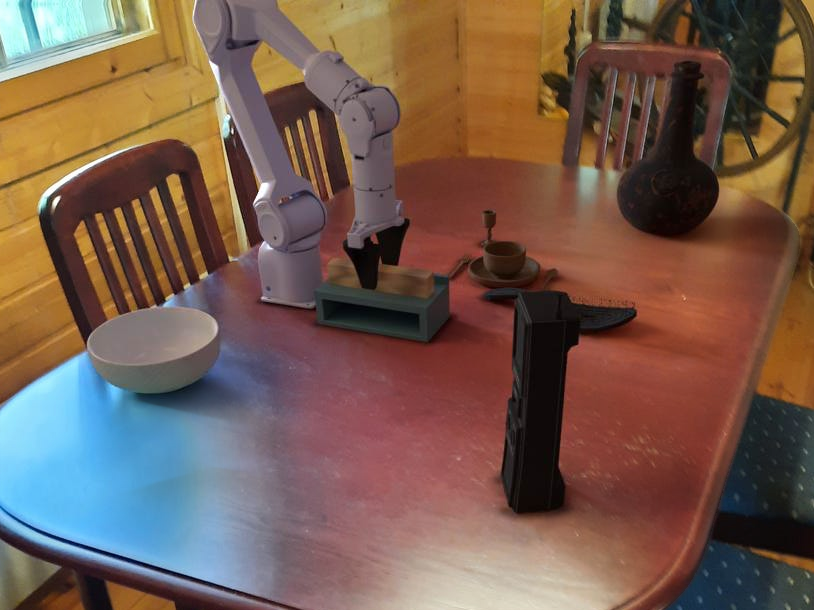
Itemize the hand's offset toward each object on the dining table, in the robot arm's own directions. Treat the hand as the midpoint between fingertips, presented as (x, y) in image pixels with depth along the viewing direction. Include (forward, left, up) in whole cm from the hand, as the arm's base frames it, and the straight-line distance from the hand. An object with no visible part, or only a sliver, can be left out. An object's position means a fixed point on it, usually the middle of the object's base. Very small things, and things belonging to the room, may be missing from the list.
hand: (379, 278), depth 126 cm
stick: (0, 0, -2) cm, 2 cm away
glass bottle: (+33, +53, -7) cm, 63 cm away
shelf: (0, 0, -7) cm, 7 cm away
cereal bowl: (-21, -26, -7) cm, 34 cm away
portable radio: (+33, -33, -7) cm, 47 cm away
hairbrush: (+24, +11, -7) cm, 27 cm away
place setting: (+12, +26, -7) cm, 30 cm away
